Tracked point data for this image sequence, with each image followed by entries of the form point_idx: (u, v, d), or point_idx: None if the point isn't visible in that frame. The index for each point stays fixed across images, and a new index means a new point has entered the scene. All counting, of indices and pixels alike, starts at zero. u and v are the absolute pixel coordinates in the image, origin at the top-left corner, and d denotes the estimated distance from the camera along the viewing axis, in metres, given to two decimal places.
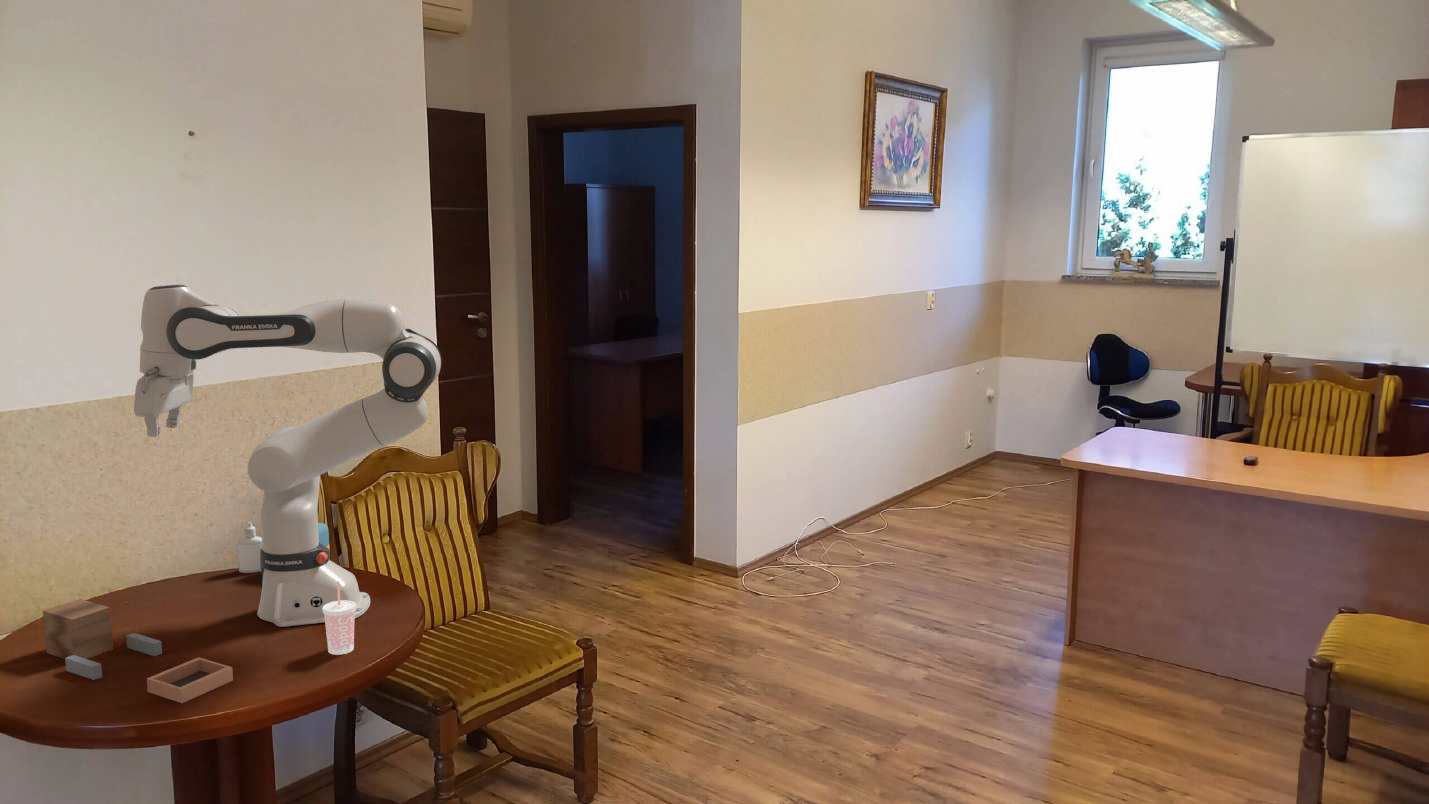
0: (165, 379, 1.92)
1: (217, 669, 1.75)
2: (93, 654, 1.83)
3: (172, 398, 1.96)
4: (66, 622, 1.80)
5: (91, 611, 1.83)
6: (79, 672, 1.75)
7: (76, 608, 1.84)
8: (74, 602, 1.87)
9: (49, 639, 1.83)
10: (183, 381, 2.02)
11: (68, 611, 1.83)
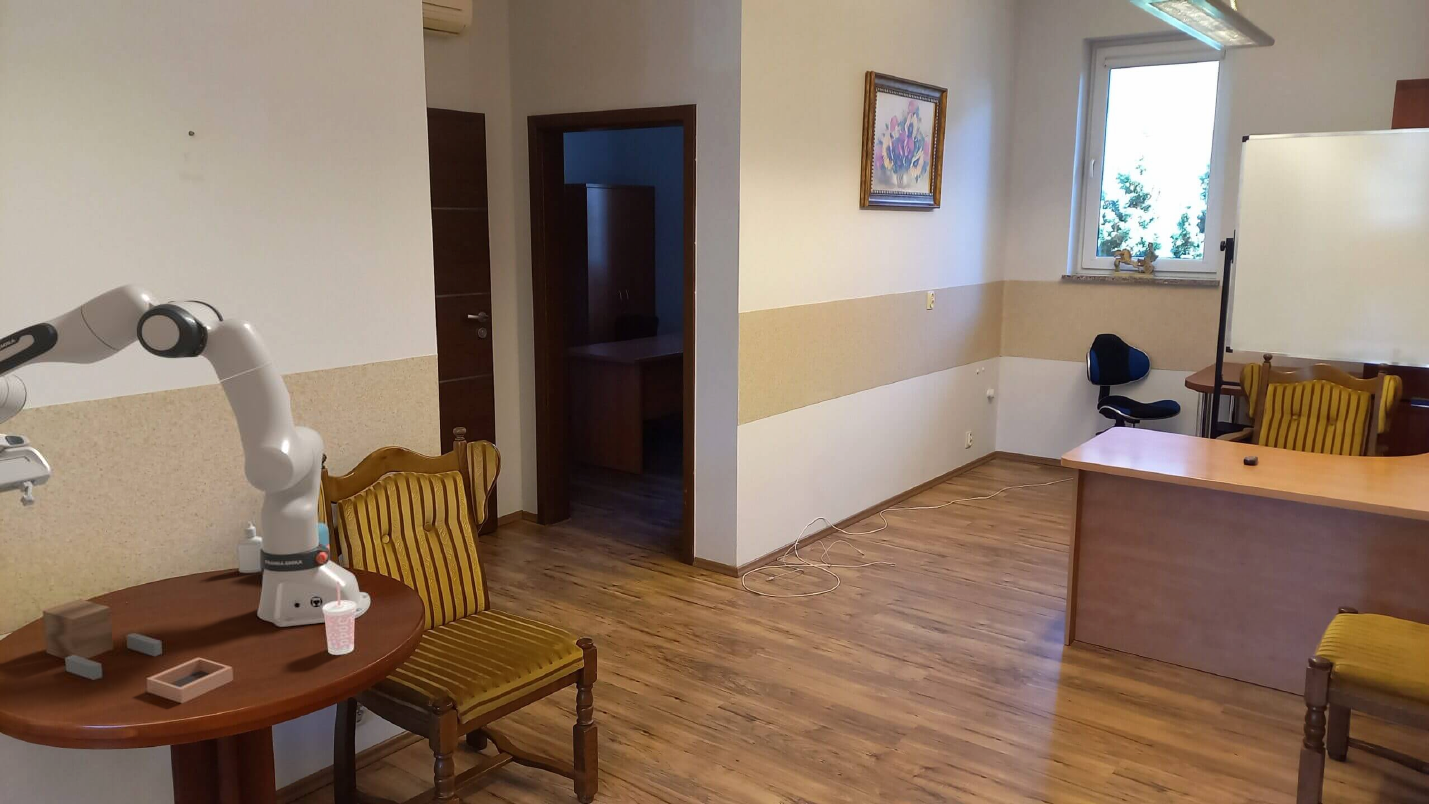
0: None
1: (217, 669, 1.75)
2: (93, 654, 1.83)
3: None
4: (66, 622, 1.80)
5: (91, 611, 1.83)
6: (79, 672, 1.75)
7: (76, 608, 1.84)
8: (74, 602, 1.87)
9: (49, 639, 1.83)
10: (20, 459, 1.95)
11: (68, 611, 1.83)
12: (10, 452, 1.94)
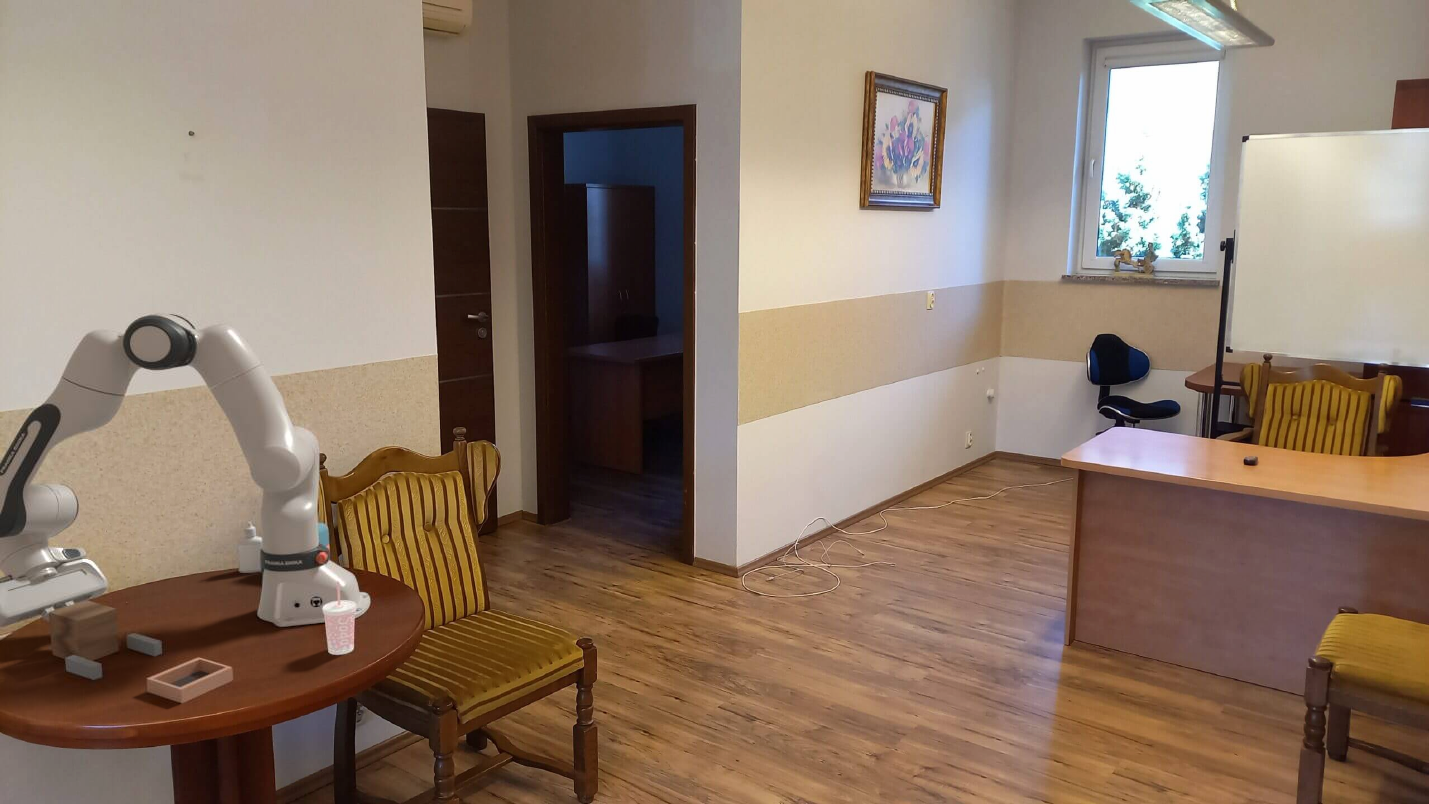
0: (17, 580, 1.84)
1: (217, 669, 1.75)
2: (99, 656, 1.82)
3: (49, 592, 1.86)
4: (72, 623, 1.79)
5: (97, 612, 1.82)
6: (79, 672, 1.75)
7: (82, 609, 1.83)
8: (80, 603, 1.86)
9: (55, 640, 1.82)
10: (76, 572, 1.92)
11: (74, 613, 1.82)
12: (67, 566, 1.91)
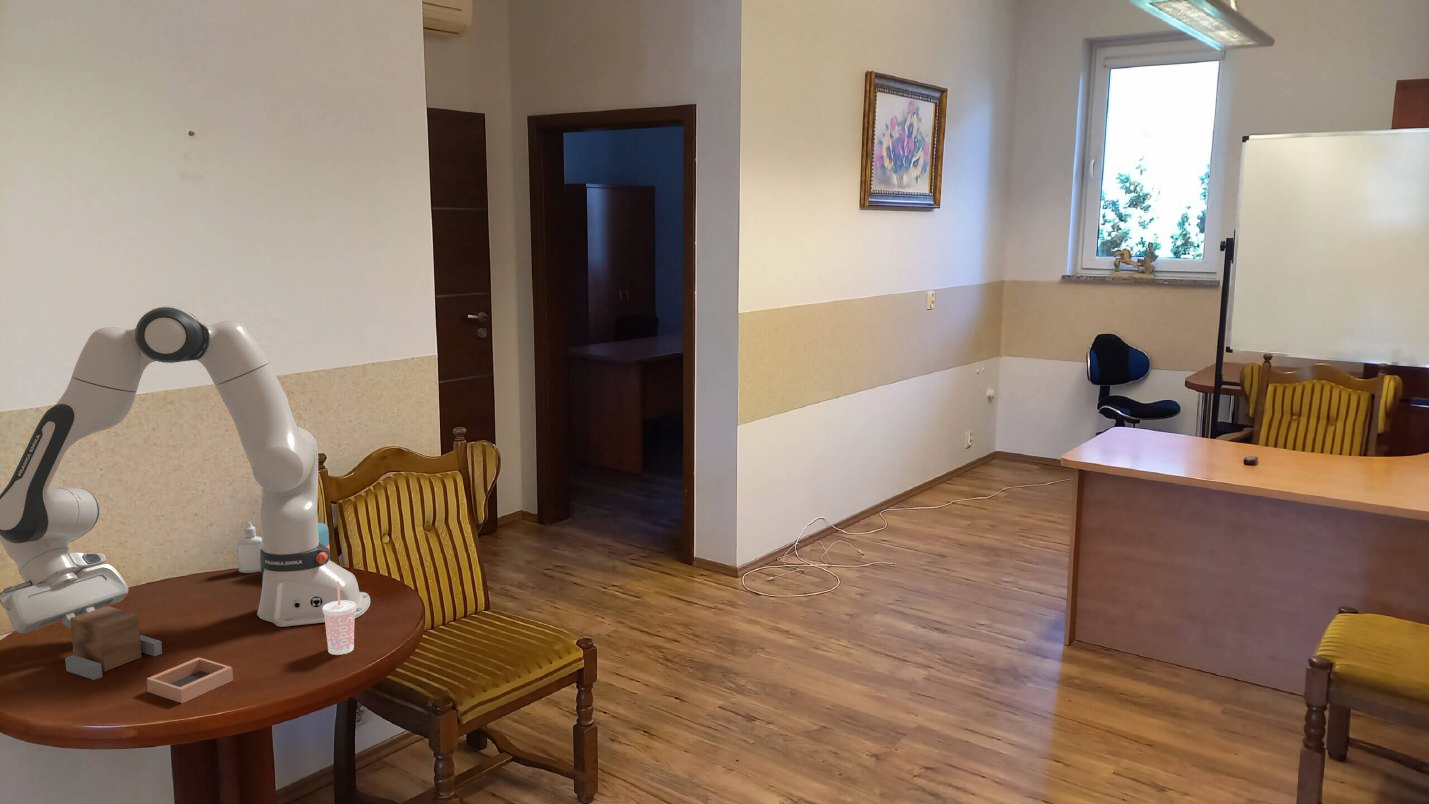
0: (38, 586, 1.81)
1: (217, 669, 1.75)
2: (121, 662, 1.80)
3: (69, 598, 1.83)
4: (94, 630, 1.77)
5: (120, 618, 1.80)
6: (79, 672, 1.75)
7: (104, 615, 1.81)
8: (102, 609, 1.84)
9: (77, 647, 1.80)
10: (97, 578, 1.90)
11: (96, 619, 1.79)
12: (87, 572, 1.88)
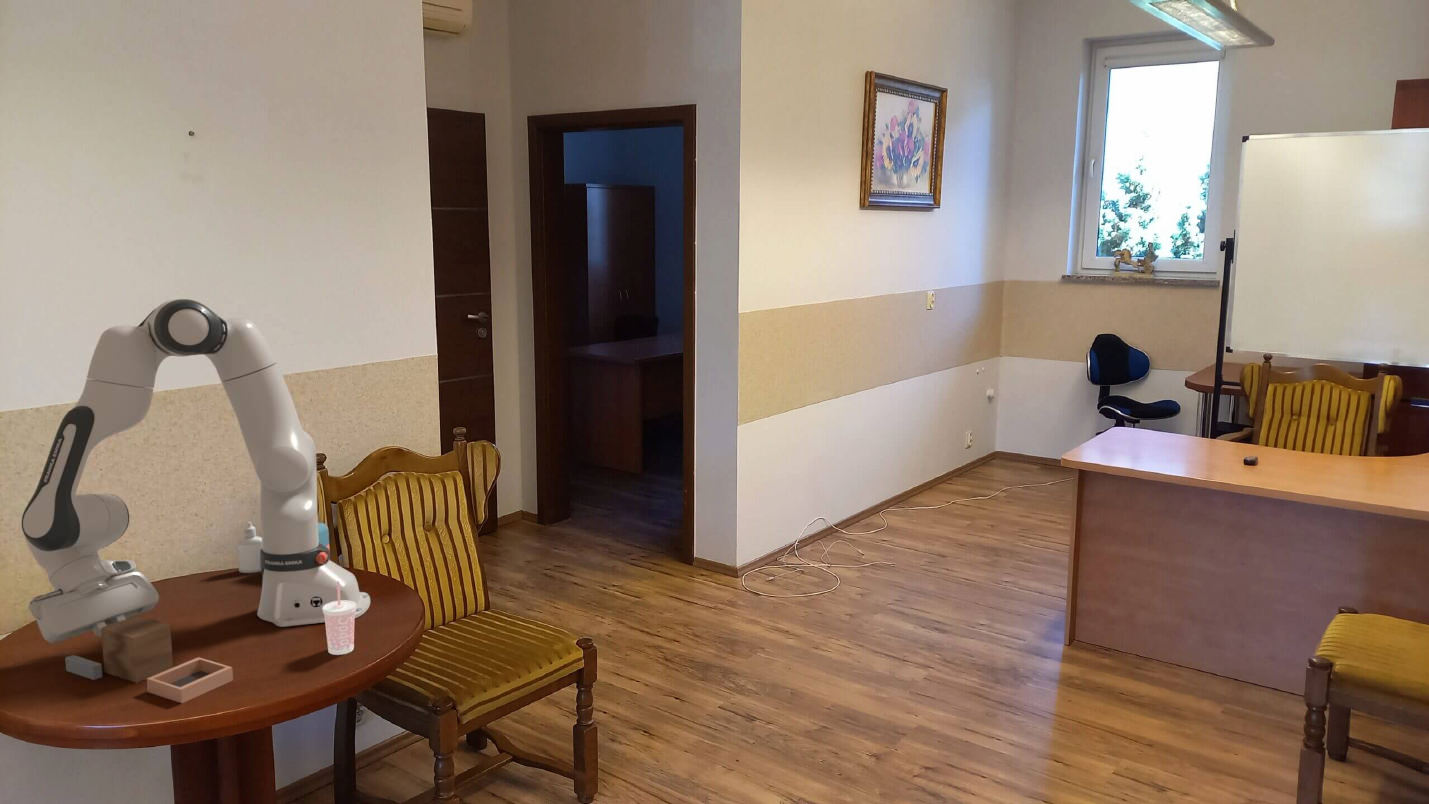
0: (68, 594, 1.77)
1: (217, 669, 1.75)
2: (153, 673, 1.76)
3: (100, 607, 1.79)
4: (126, 640, 1.72)
5: (152, 628, 1.75)
6: (79, 672, 1.75)
7: (135, 625, 1.77)
8: (132, 619, 1.80)
9: (107, 658, 1.76)
10: (127, 586, 1.86)
11: (128, 629, 1.75)
12: (118, 580, 1.84)
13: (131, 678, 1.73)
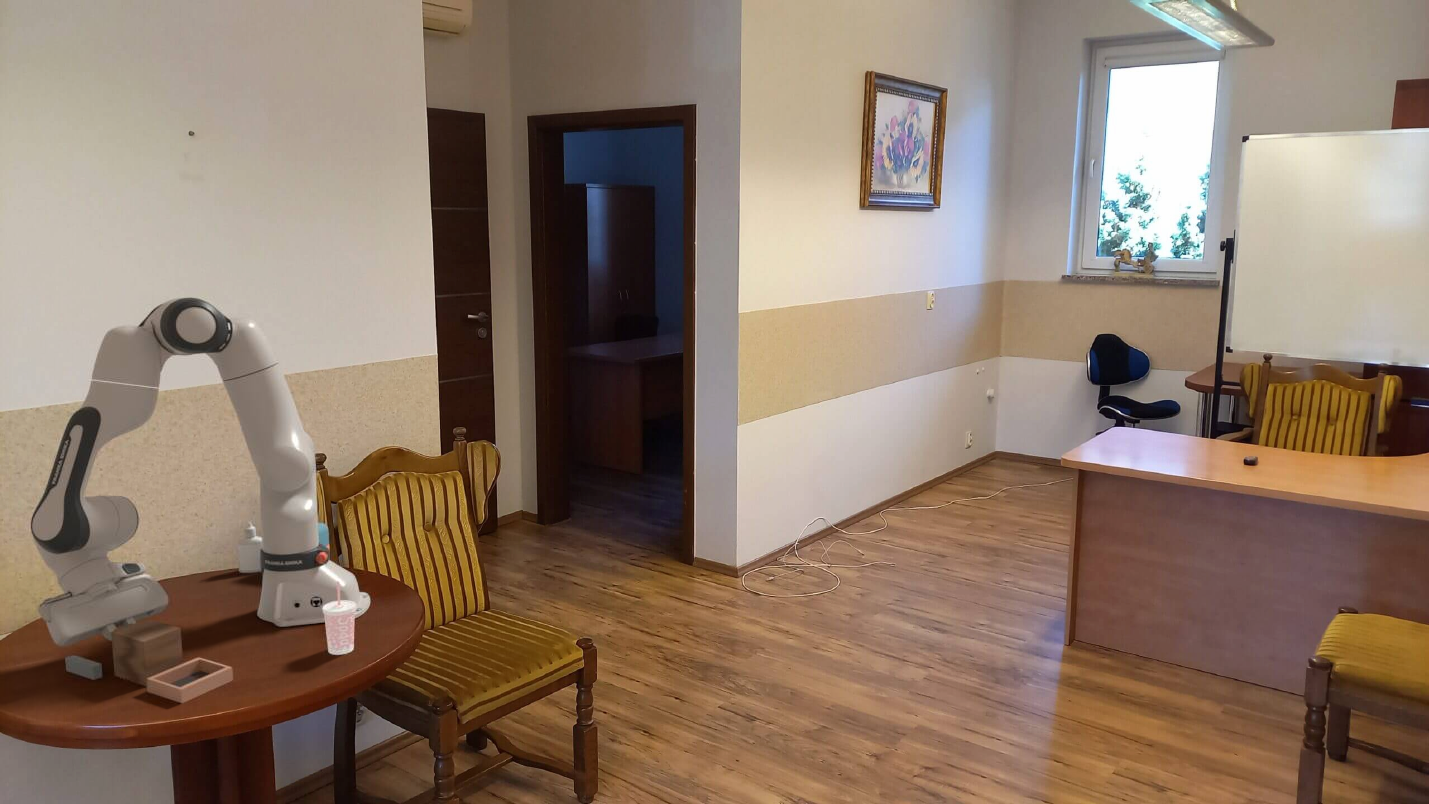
0: (78, 597, 1.76)
1: (217, 669, 1.75)
2: None
3: (110, 609, 1.78)
4: (136, 644, 1.71)
5: (162, 632, 1.74)
6: (79, 672, 1.75)
7: (145, 629, 1.75)
8: (142, 622, 1.78)
9: (118, 662, 1.74)
10: (137, 588, 1.84)
11: (138, 633, 1.74)
12: (127, 582, 1.83)
13: (142, 682, 1.72)
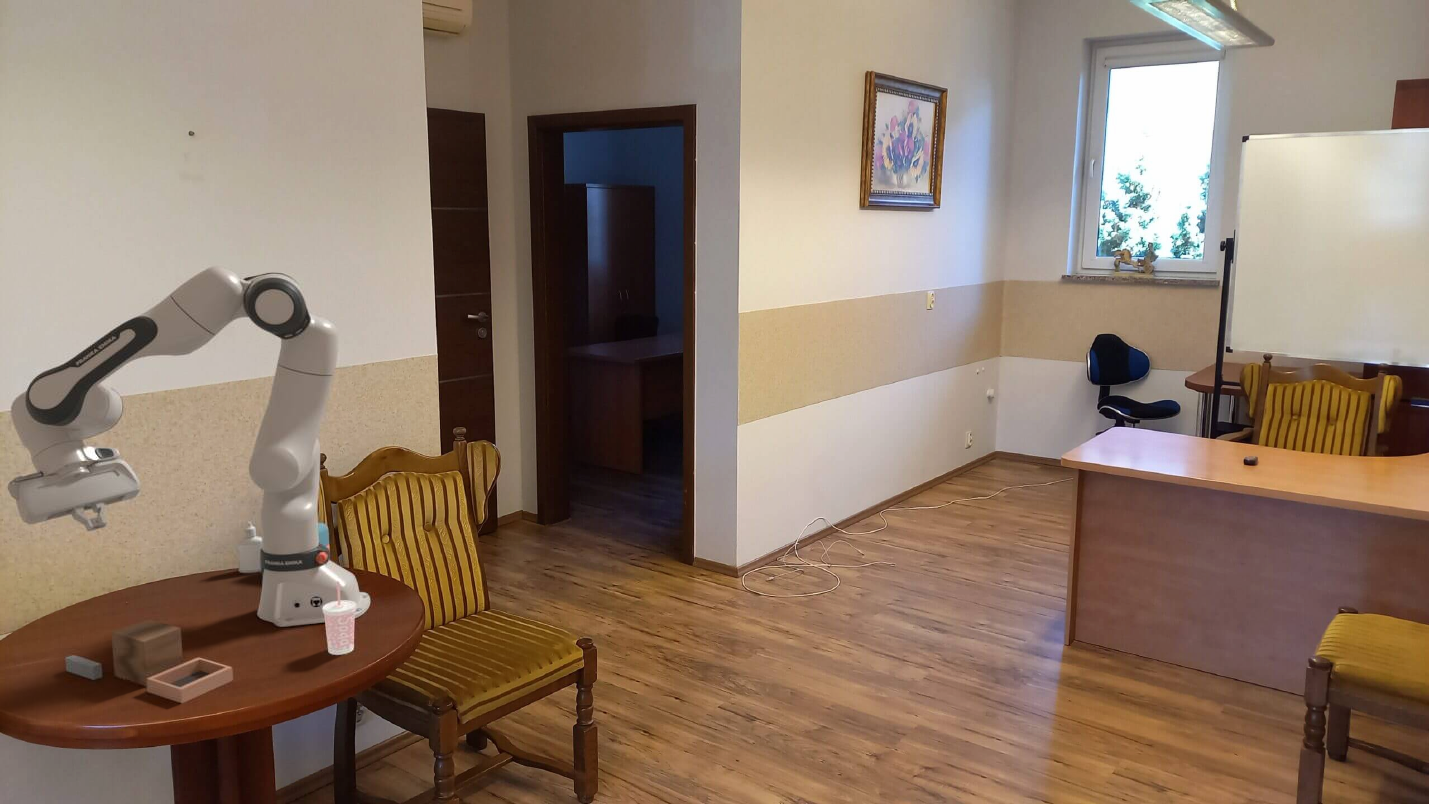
0: (48, 477, 1.79)
1: (217, 669, 1.75)
2: None
3: (79, 492, 1.81)
4: (137, 644, 1.71)
5: (162, 632, 1.74)
6: (79, 672, 1.75)
7: (145, 629, 1.75)
8: (142, 622, 1.78)
9: (118, 662, 1.74)
10: (109, 473, 1.87)
11: (138, 633, 1.74)
12: (99, 466, 1.86)
13: (142, 682, 1.72)
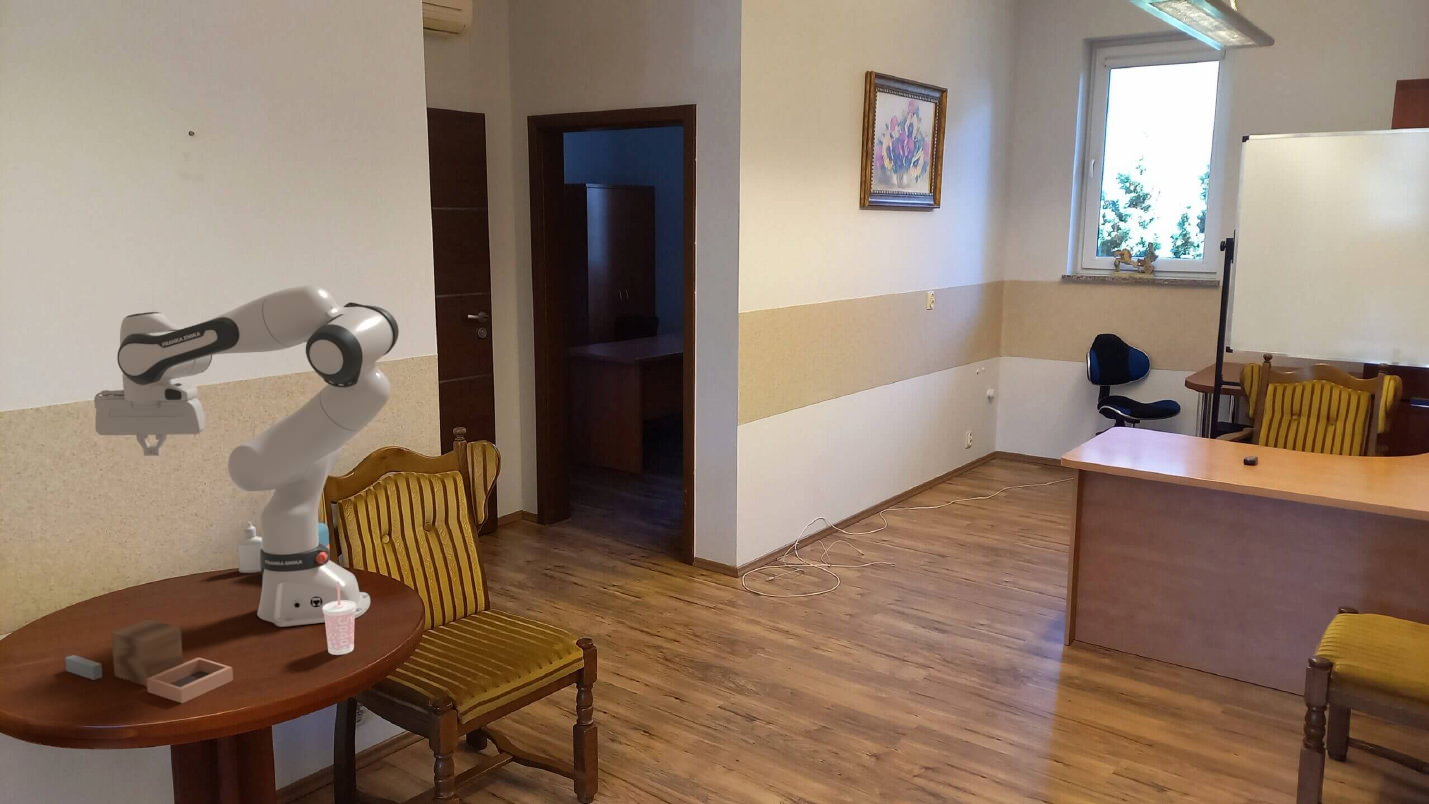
0: (122, 402, 1.99)
1: (217, 669, 1.75)
2: None
3: (143, 423, 2.00)
4: (136, 644, 1.71)
5: (162, 632, 1.74)
6: (79, 672, 1.75)
7: (145, 629, 1.75)
8: (142, 622, 1.78)
9: (118, 662, 1.74)
10: (176, 410, 2.01)
11: (138, 633, 1.74)
12: (166, 405, 2.00)
13: (142, 682, 1.72)
